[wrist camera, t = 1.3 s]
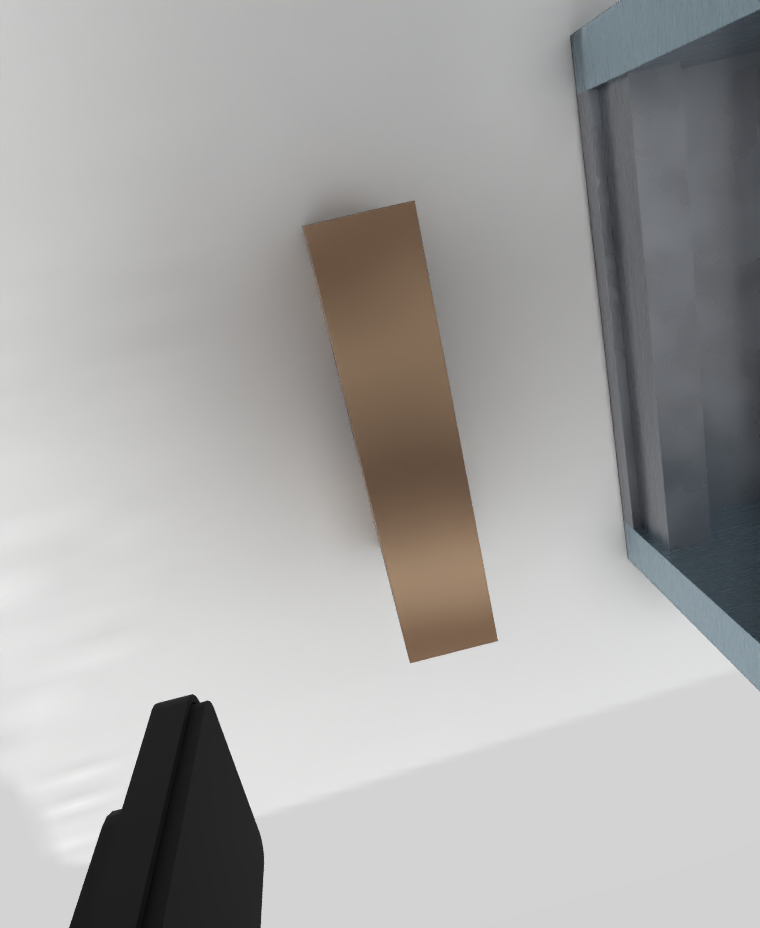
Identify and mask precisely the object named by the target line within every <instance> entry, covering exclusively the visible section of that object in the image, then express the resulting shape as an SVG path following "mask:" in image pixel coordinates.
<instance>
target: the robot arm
mask: <svg viewBox="0 0 760 928" xmlns="http://www.w3.org/2000/svg"><path fill="white" fill-rule="evenodd" d="M263 872H264V853H263V845H262V840H261V836H260V833H259V830H258V827H257V824H256V822H255V819H254V816H253V814H252V811H251V808H250V805H249V803H248V800H247V797H246V794H245V792H244V789H243V786H242V784H241V781H240V778H239V775H238V773H237V770H236V767H235V764H234V762H233V759H232V756H231V753H230V751H229V748H228V745H227V743H226V740H225V737H224V734H223V732H222V729H221V726H220V723H219V721H218V718H217V715H216V713H215V710H214V707H213V705H212V703H211V702H210V701H205V702H201V703H200V702H199V700H198V698H197V697H196V696H195V695H193V694H192V695H188V696H184V697H180V698H176V699H172V700H168V701H164V702H160V703H157V704H155V705H154V707H153V709H152V712H151V715H150V718H149V722H148V725H147V728H146V731H145V735H144V738H143V741H142V745H141V748H140V751H139V755H138V758H137V761H136V765H135V768H134V771H133V774H132V778H131V781H130V784H129V788H128V791H127V794H126V798H125V801H124V804H123V807H122V809H120V810H116V811H112V812H111V813H110V814H109V815H108V816H107V817H106V820H105V822H104V824H103V826H102V829H101V832H100V835H99V838H98V841H97V844H96V847H95V850H94V853H93V856H92V860H91V863H90V866H89V869H88V872H87V875H86V878H85V881H84V884H83V887H82V890H81V893H80V896H79V900H78V902H77V906H76V908H75V912H74V915H73V918H72V921H71V924H70V927H69V928H261V927H260V926H261V909H262V908H261V907H262V891H263V890H262V889H263Z"/></svg>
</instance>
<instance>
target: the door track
mask: <svg viewBox="0 0 760 928" xmlns="http://www.w3.org/2000/svg"><path fill="white" fill-rule="evenodd" d="M570 36H571V45H572V55H573V64H574V73H575V82H576V91H577V100H578V109H579V118H580V127H581V136H582V145H583V154H584V164H585V173H586V182H587V191H588V200H589V209H590V218H591V227H592V236H593V245H594V254H595V263H596V272H597V282H598V291H599V300H600V309H601V318H602V327H603V336H604V345H605V354H606V363H607V372H608V381H609V390H610V400H611V409H612V418H613V427H614V436H615V445H616V454H617V463H618V472H619V481H620V490H621V499H622V509H623V518H624V527H625V536H626V545H627V554H628V559H629V560H630V561H631V562H632V563H633V564H634V565H635V566H636V567H637V568H638V569H639V570H640V571H641V572H642V573H643V574H644V575H645V576H646V577H647V578H648V579H649V580H650V581H651V582H652V583H653V584H654V585H655V586H656V587H657V588H658V589H659V590H660V591H661V592H662V593H663V594H664V595H665V596H666V597H667V598H668V599H669V600H670V601H671V602H672V603H673V604H674V605H675V606H676V607H677V608H678V610H679V611H680V612H681V613H682V614H683V615H684V616H685V617H686V618H687V619H688V620H689V621H690V622H691V623H692V624H693V625H694V626H695V627H696V628H697V629H698V630H699V631H700V632H701V633H702V634H703V635H704V636H705V637H706V638H707V639H708V640H709V641H710V642H711V643H712V644H713V645H714V646H715V647H716V648H717V649H718V650H719V651H720V652H721V653H722V654H723V655H724V656H725V657H726V658H727V659H728V660H729V661H730V662H731V663H732V664H733V665H734V666H735V667H736V668H737V669H738V670H739V671H740V672H741V673H742V674H743V675H744V676H745V677H746V678H747V679H748V680H749V681H750V682H751V683H752V684H753V685H754V686H755V687H756V688H757V689H758V690H759V691H760V0H621V1H619V2H618V3H616V4H615V5H613V6H612V7H611V8H609V9H608V10H606V11H605V12H603V13H602V14H601V15H599V16H598V17H596V18H595V19H593V20H592V21H591V22H589V23H588V24H586V25H585V26H583V27H582V28H581V29H579V30H578V31H576V32H575V33H573V34H572V35H570Z"/></svg>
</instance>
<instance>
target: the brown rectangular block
mask: <svg viewBox="0 0 760 928" xmlns="http://www.w3.org/2000/svg"><path fill="white" fill-rule="evenodd" d="M302 227H303V231H304V235H305V239H306V243H307V247H308V251H309V255H310V260H311V264H312V268H313V272H314V276H315V280H316V284H317V288H318V292H319V297H320V301H321V305H322V309H323V313H324V317H325V321H326V325H327V329H328V334H329V338H330V342H331V346H332V350H333V354H334V358H335V362H336V366H337V370H338V375H339V379H340V383H341V387H342V391H343V395H344V399H345V403H346V407H347V412H348V416H349V420H350V424H351V428H352V432H353V436H354V440H355V444H356V449H357V453H358V457H359V461H360V465H361V469H362V473H363V477H364V481H365V486H366V490H367V494H368V498H369V502H370V506H371V510H372V514H373V518H374V523H375V527H376V531H377V535H378V539H379V543H380V547H381V551H382V555H383V559H384V563H385V567H386V571H387V575H388V579H389V582H390V586H391V590H392V594H393V598H394V602H395V606H396V610H397V614H398V618H399V622H400V626H401V629H402V633H403V637H404V641H405V645H406V649H407V653H408V657H409V661H410V663H413V662H417V661H421V660H425V659H428V658H432V657H436V656H440V655H444V654H448V653H452V652H456V651H460V650H464V649H468V648H472V647H476V646H479V645H483V644H487V643H491V642H495V641H498V639H497V634H496V629H495V624H494V618H493V613H492V608H491V602H490V597H489V592H488V587H487V581H486V576H485V571H484V565H483V560H482V555H481V550H480V544H479V539H478V534H477V529H476V523H475V518H474V513H473V507H472V502H471V497H470V492H469V486H468V481H467V476H466V471H465V465H464V460H463V455H462V449H461V444H460V439H459V434H458V428H457V423H456V418H455V412H454V407H453V402H452V397H451V391H450V386H449V381H448V376H447V370H446V365H445V360H444V354H443V349H442V344H441V339H440V333H439V328H438V323H437V317H436V312H435V307H434V302H433V296H432V291H431V286H430V281H429V275H428V270H427V265H426V259H425V254H424V249H423V244H422V238H421V233H420V228H419V222H418V217H417V212H416V207H415V201H411V202H406V203H402V204H397V205H392V206H388V207H383V208H378V209H374V210H370V211H366V212H361V213H357V214H353V215H348V216H344V217H340V218H336V219H331V220H327V221H323V222H318V223H314V224H310V225H306V226H302Z"/></svg>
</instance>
